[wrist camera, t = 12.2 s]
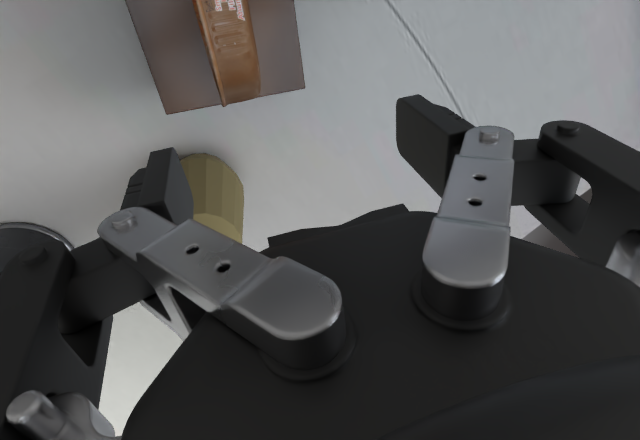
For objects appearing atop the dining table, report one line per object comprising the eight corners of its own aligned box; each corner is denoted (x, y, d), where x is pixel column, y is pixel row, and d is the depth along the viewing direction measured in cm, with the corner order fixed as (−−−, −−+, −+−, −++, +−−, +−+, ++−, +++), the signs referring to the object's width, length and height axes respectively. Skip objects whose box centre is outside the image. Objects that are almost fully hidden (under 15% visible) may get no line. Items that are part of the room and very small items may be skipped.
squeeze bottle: (163, 136, 38) (136, 254, 23) (246, 147, 40) (269, 259, 26) (160, 206, 42) (136, 343, 27) (236, 212, 44) (250, 340, 30)
